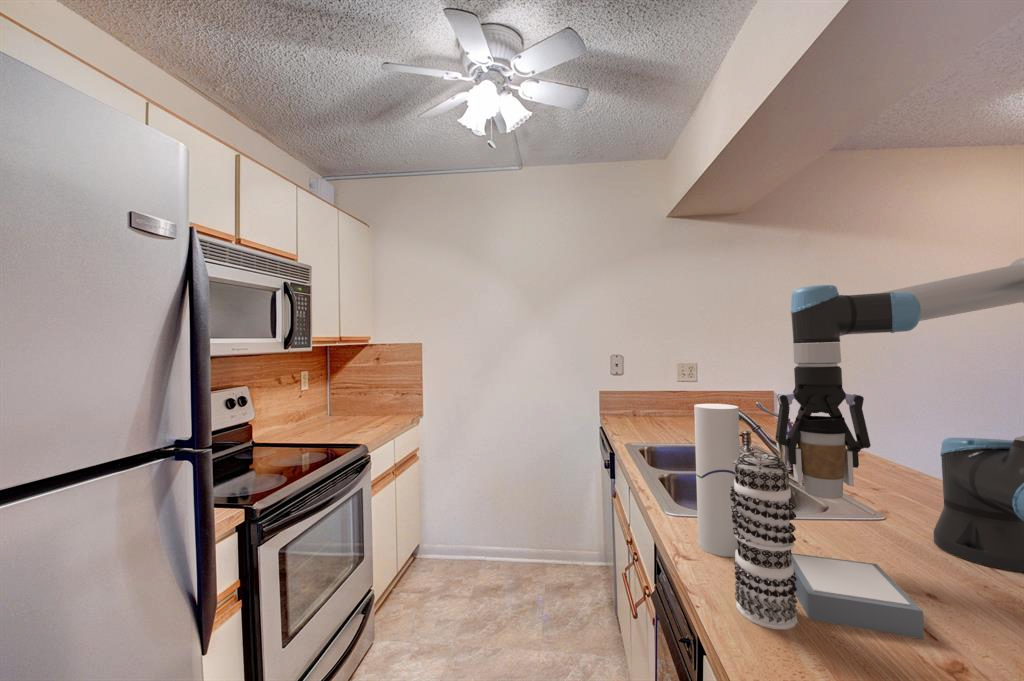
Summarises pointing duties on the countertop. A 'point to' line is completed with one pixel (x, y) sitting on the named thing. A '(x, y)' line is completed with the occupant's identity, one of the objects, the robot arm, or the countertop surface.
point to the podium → (854, 596)
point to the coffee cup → (823, 455)
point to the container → (716, 475)
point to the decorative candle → (764, 541)
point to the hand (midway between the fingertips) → (822, 482)
